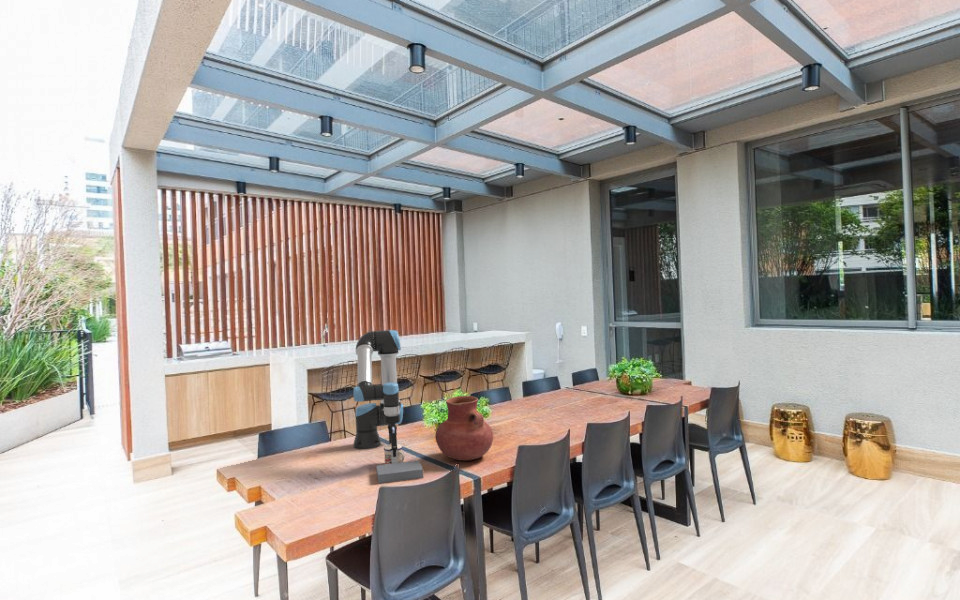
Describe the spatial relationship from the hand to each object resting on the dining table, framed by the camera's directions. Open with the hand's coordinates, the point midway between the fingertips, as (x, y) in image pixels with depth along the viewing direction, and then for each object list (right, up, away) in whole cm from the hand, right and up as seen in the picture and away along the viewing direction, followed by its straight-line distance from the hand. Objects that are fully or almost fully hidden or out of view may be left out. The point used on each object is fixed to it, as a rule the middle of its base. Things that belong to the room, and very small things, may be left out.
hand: (393, 460), depth 248 cm
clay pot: (+35, -1, +8) cm, 36 cm away
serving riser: (+6, -2, -16) cm, 17 cm away
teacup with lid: (+1, -3, -1) cm, 3 cm away
